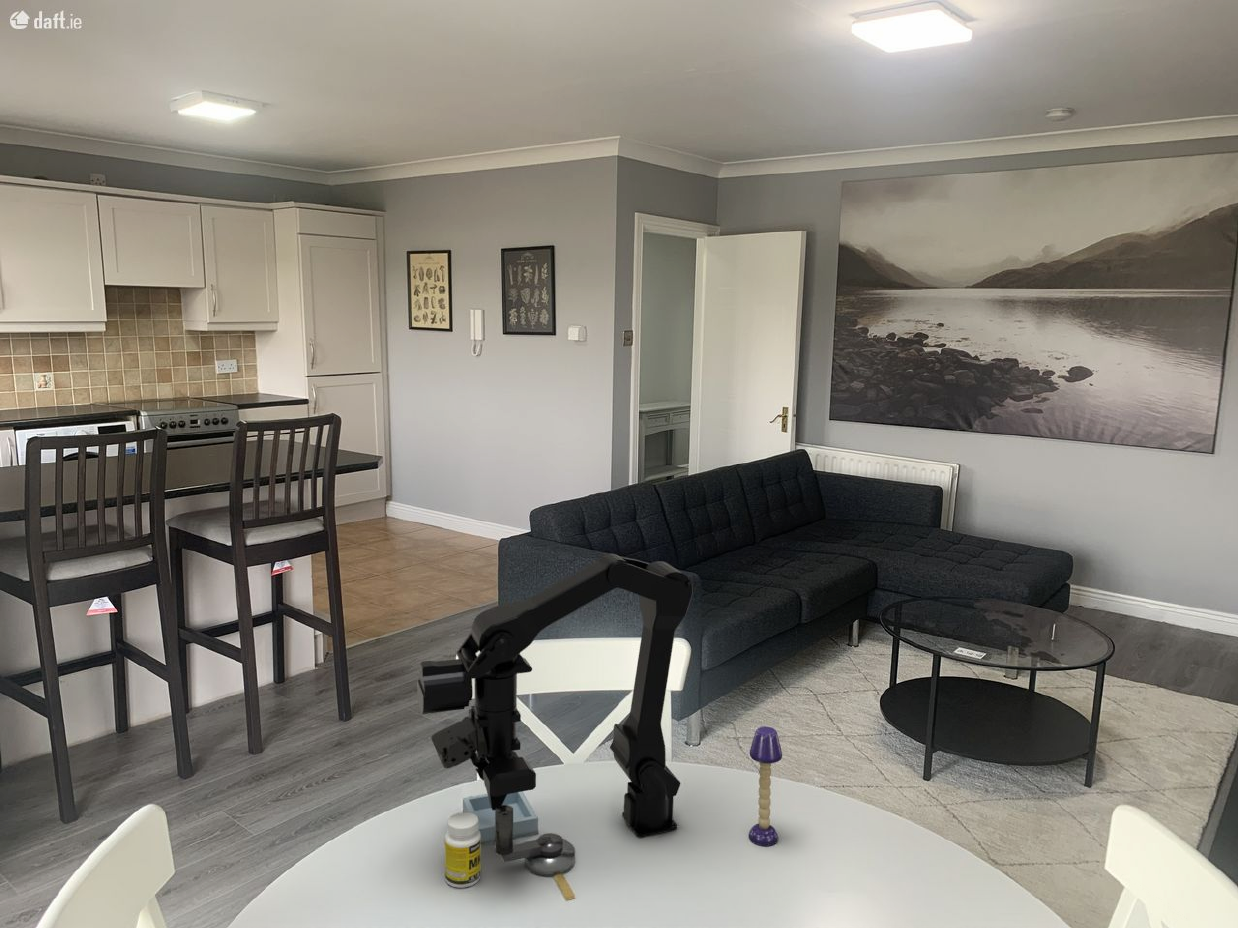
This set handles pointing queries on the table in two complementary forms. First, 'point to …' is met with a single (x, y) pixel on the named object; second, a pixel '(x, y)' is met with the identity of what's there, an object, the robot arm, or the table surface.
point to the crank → (510, 852)
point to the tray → (480, 806)
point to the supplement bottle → (462, 850)
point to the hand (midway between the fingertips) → (495, 808)
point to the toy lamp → (765, 782)
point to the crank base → (554, 867)
